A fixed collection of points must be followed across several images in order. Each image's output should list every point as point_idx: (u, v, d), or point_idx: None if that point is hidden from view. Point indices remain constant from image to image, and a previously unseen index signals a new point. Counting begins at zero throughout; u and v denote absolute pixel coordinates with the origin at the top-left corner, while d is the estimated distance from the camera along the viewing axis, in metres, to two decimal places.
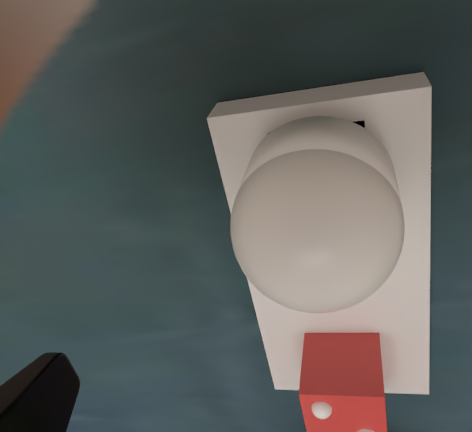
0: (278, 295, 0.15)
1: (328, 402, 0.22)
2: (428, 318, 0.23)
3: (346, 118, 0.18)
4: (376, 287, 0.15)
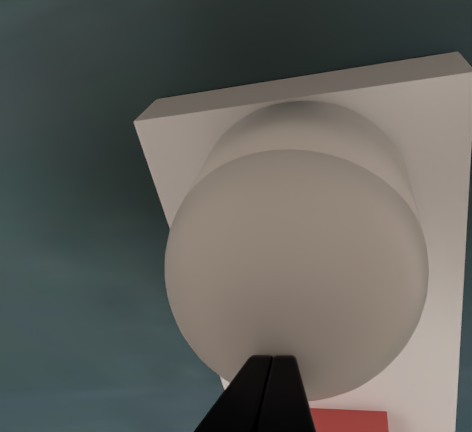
0: (231, 379, 0.09)
1: None
2: (455, 397, 0.17)
3: None
4: (385, 367, 0.09)
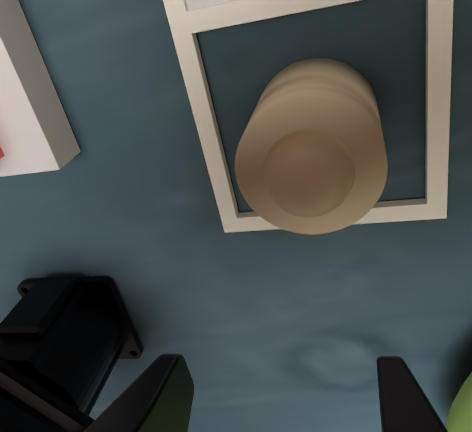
0: None
1: None
2: None
3: None
4: None
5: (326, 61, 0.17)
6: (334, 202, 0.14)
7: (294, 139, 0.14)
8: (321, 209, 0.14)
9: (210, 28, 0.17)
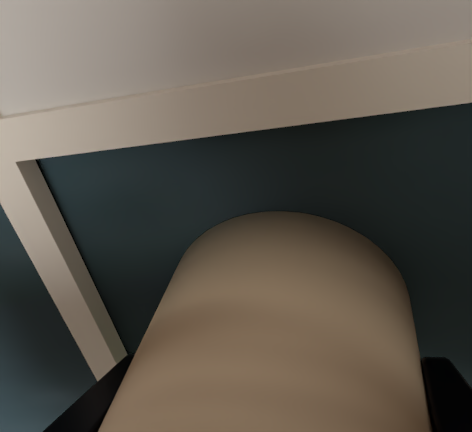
0: None
1: None
2: None
3: None
4: None
5: (302, 230, 0.08)
6: None
7: None
8: None
9: (51, 154, 0.08)
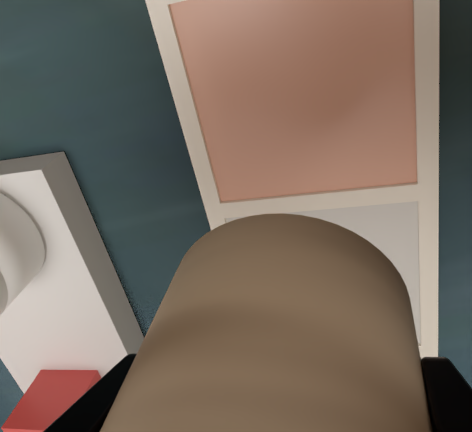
0: None
1: None
2: None
3: None
4: None
5: (302, 232, 0.08)
6: None
7: None
8: None
9: None
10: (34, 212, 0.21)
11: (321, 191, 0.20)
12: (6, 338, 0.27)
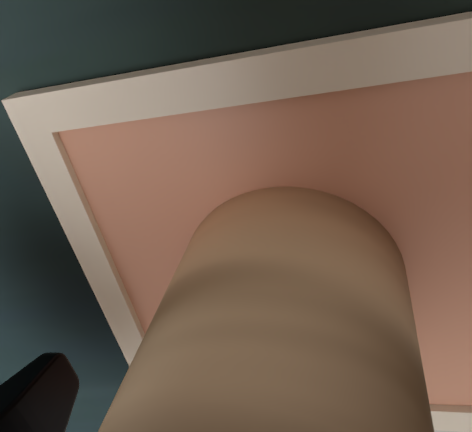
0: None
1: None
2: None
3: None
4: None
5: (306, 202, 0.09)
6: None
7: None
8: None
9: None
10: None
11: None
12: None
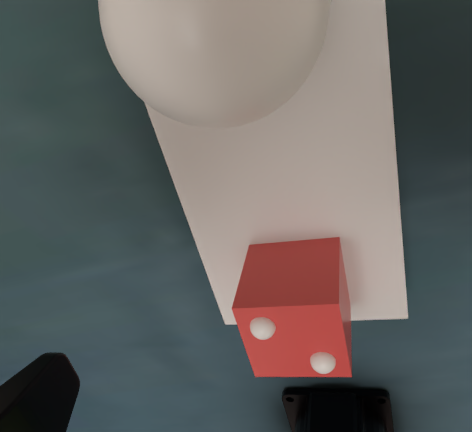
0: (154, 84, 0.11)
1: (269, 317, 0.17)
2: (398, 210, 0.18)
3: None
4: (286, 65, 0.11)
5: None
6: None
7: None
8: None
9: None
10: None
11: None
12: (210, 195, 0.19)
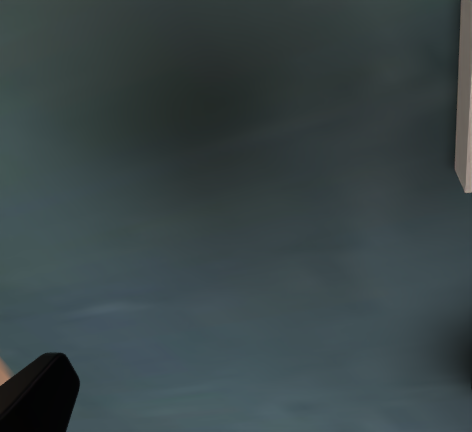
0: None
1: None
2: None
3: None
4: None
5: None
6: None
7: None
8: None
9: None
10: None
11: None
12: None
